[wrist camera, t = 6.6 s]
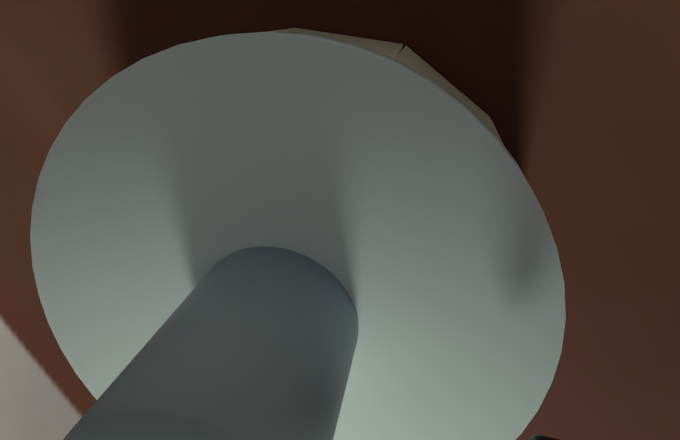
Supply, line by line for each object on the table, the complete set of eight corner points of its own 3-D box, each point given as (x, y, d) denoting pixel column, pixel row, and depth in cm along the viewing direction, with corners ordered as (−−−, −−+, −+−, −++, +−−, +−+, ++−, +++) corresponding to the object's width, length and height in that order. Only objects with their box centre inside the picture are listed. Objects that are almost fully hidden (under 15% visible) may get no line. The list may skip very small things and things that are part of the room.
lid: (645, 84, 8) (928, 189, 3) (479, 525, 12) (501, 826, 7) (28, -10, 9) (-380, -26, 4) (80, 423, 13) (-99, 631, 9)
